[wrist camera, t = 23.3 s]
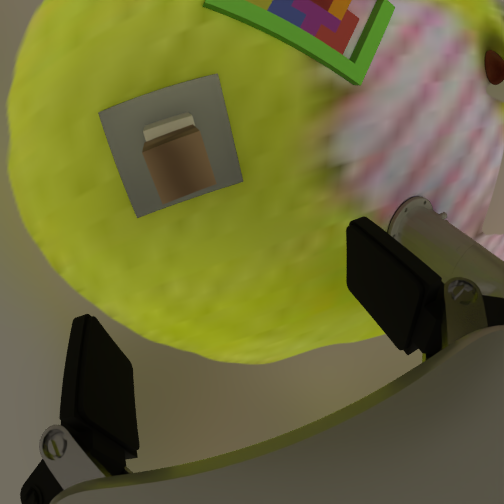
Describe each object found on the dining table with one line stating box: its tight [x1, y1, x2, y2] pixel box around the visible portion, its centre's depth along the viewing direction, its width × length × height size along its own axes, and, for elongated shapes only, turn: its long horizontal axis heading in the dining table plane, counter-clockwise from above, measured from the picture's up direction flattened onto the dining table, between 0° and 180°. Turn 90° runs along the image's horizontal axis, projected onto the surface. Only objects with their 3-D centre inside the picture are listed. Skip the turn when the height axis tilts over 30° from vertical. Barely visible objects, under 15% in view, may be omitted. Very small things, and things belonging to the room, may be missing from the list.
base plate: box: [99, 74, 243, 218], centre depth 32 cm, size 14×14×1 cm
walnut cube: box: [142, 124, 217, 204], centre depth 25 cm, size 5×5×5 cm
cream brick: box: [143, 112, 195, 142], centre depth 29 cm, size 5×7×5 cm
